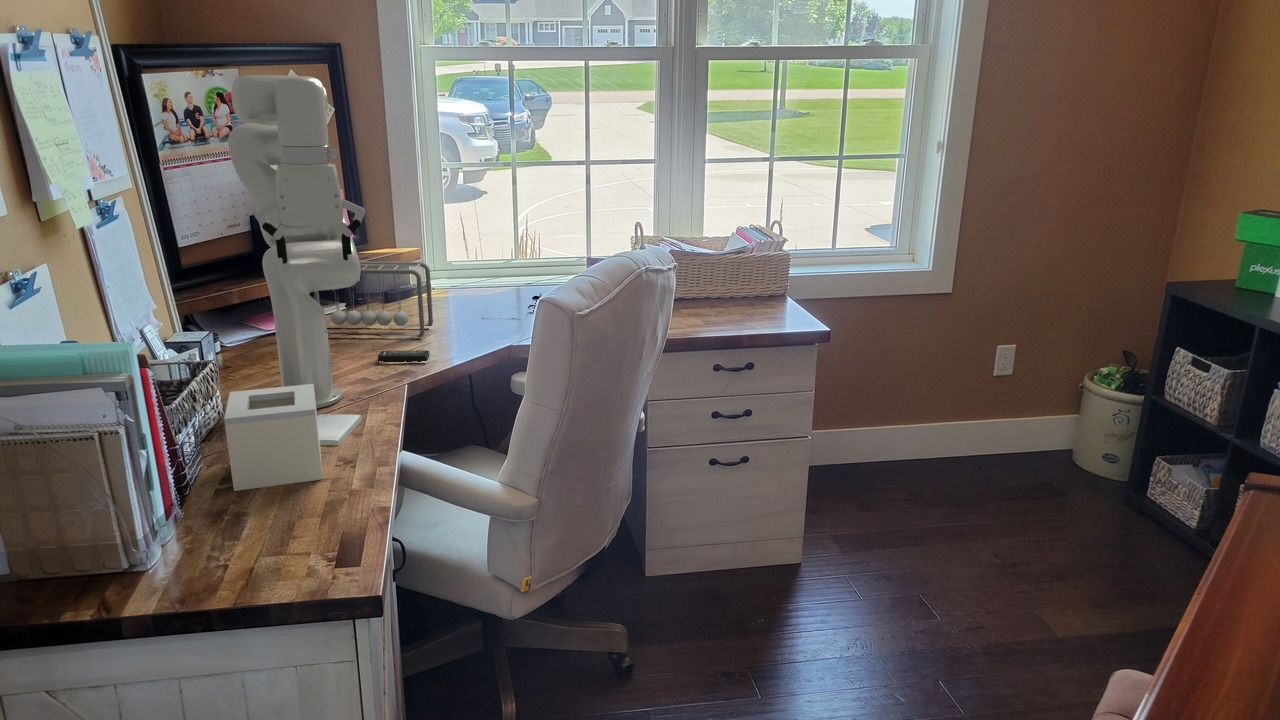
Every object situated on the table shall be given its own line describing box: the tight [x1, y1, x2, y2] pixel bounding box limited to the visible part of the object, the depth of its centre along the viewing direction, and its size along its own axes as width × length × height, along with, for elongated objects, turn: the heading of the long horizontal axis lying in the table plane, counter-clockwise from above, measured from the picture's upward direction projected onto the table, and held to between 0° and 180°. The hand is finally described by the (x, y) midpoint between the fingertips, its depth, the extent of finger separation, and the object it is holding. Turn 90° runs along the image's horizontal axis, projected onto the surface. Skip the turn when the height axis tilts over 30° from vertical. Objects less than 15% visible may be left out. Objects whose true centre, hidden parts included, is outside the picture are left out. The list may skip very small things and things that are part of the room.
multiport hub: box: [377, 350, 431, 362], centre depth 202 cm, size 4×11×2 cm, turn 93°
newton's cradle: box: [313, 260, 434, 338], centre depth 222 cm, size 30×10×18 cm, turn 90°
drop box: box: [223, 384, 323, 492], centre depth 143 cm, size 13×13×12 cm
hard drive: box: [317, 413, 363, 446], centre depth 161 cm, size 2×8×12 cm
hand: (315, 260), depth 149 cm, fingers open, 9 cm apart
